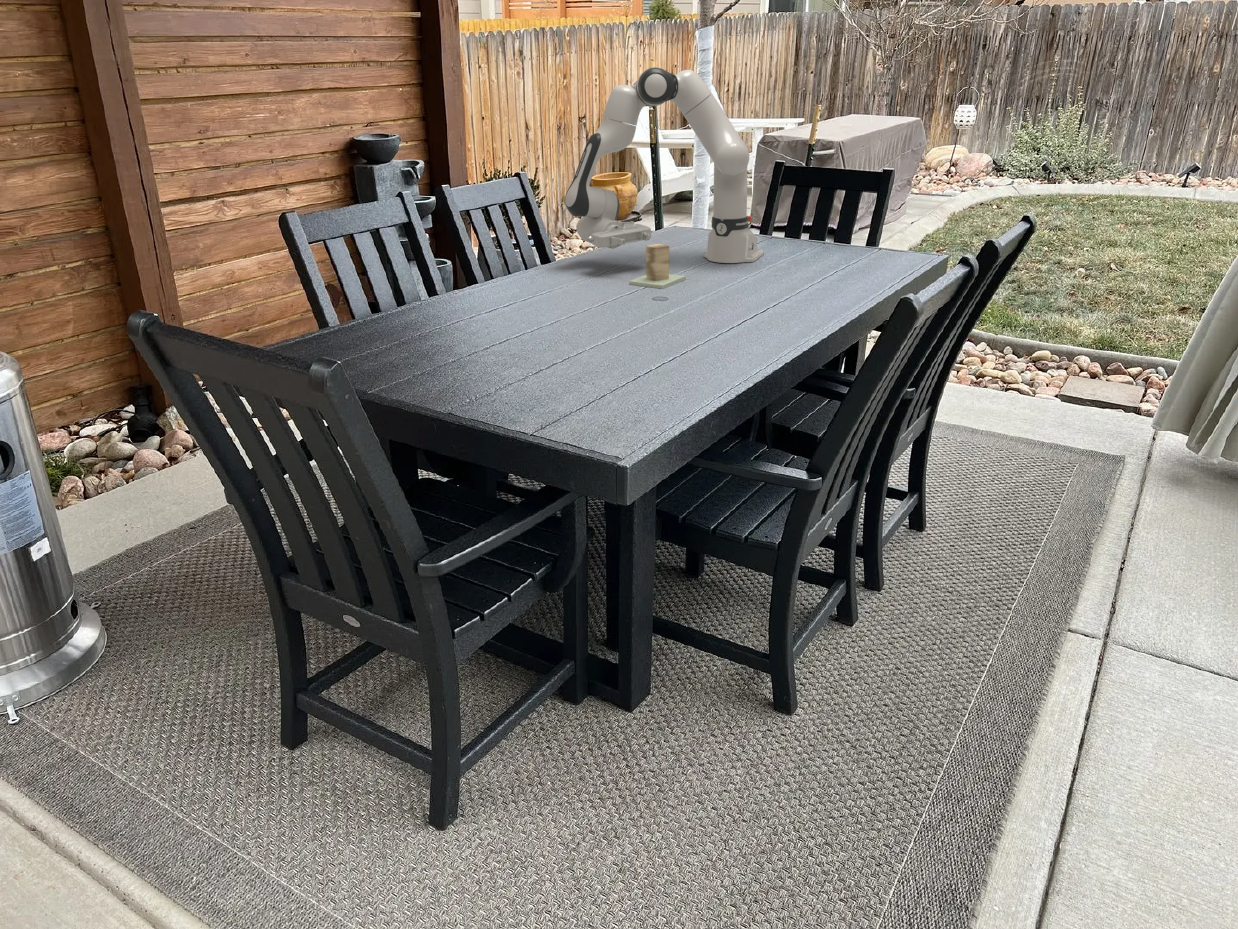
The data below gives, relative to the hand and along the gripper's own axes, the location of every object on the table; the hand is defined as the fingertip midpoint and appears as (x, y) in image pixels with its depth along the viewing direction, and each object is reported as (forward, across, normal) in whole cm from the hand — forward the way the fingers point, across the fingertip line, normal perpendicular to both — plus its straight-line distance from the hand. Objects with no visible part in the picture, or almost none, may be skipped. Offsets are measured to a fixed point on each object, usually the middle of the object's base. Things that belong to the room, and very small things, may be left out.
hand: (635, 239), depth 288 cm
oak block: (+12, 0, +10) cm, 16 cm away
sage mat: (+12, -1, +11) cm, 16 cm away
